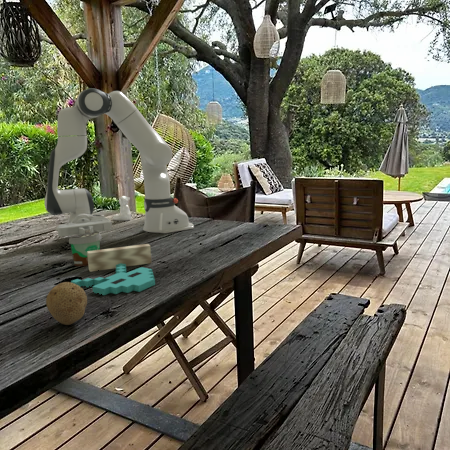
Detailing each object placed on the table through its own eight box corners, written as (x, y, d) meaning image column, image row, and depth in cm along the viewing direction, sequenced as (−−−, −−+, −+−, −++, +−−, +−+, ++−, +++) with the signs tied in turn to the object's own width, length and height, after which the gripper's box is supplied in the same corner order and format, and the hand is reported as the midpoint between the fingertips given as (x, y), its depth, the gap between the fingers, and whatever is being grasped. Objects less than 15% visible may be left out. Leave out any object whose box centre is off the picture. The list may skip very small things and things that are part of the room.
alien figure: (71, 288, 131) (122, 301, 121) (70, 281, 130) (121, 293, 120) (121, 269, 147) (169, 279, 137) (120, 263, 147) (169, 272, 137)
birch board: (149, 260, 155) (148, 243, 154) (151, 263, 152) (150, 245, 151) (88, 269, 147) (87, 251, 146) (90, 271, 144) (88, 253, 143)
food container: (84, 269, 147) (82, 239, 145) (71, 267, 150) (68, 237, 148) (111, 259, 158) (108, 231, 156) (97, 257, 161) (95, 229, 158)
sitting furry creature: (128, 217, 232) (127, 193, 230) (137, 219, 226) (136, 195, 224) (112, 219, 226) (110, 196, 224) (121, 222, 220) (119, 197, 217)
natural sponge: (59, 314, 111) (55, 276, 109) (95, 315, 111) (91, 276, 108) (42, 331, 103) (37, 289, 100) (80, 332, 102) (76, 289, 100)
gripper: (54, 220, 176) (57, 227, 164) (107, 214, 184) (114, 220, 172) (56, 236, 178) (59, 244, 166) (108, 229, 186) (115, 236, 174)
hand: (87, 231), depth 169 cm, fingers closed
